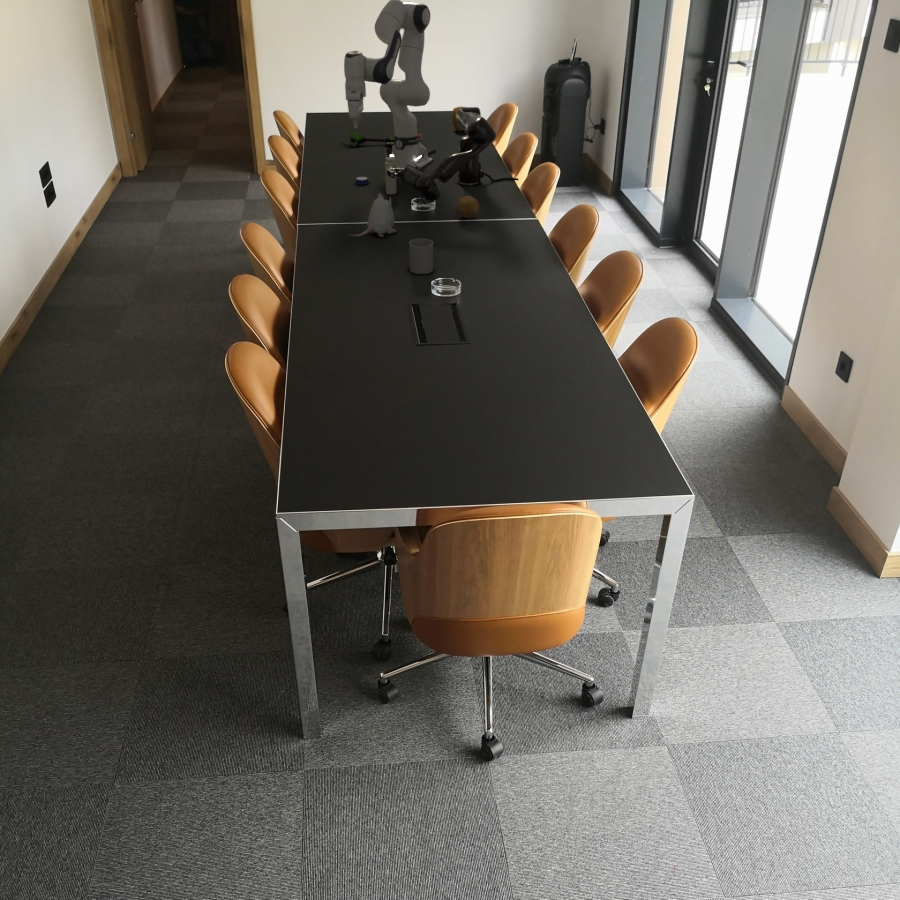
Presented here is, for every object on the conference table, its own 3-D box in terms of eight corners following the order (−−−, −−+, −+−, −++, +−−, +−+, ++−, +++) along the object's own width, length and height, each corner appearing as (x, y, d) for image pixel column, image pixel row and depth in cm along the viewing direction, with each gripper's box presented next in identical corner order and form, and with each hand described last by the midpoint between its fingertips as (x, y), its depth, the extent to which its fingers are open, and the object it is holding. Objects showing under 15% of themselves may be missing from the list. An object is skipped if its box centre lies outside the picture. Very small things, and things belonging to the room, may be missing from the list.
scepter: (396, 128, 463) (340, 126, 461) (396, 143, 456) (339, 141, 454) (396, 138, 468) (340, 135, 466) (396, 153, 461) (339, 151, 459)
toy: (401, 232, 342) (400, 194, 334) (357, 247, 328) (354, 207, 320) (386, 227, 348) (384, 189, 339) (341, 241, 333) (338, 202, 325)
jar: (385, 191, 390) (384, 156, 382) (396, 191, 390) (395, 156, 382) (386, 194, 386) (385, 159, 378) (397, 194, 387) (396, 159, 378)
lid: (362, 185, 398) (362, 180, 397) (353, 183, 401) (353, 178, 400) (370, 183, 401) (370, 178, 400) (361, 180, 404) (361, 176, 403)
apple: (471, 132, 486) (471, 108, 479) (451, 132, 486) (451, 108, 479) (470, 128, 495) (471, 104, 488) (452, 128, 495) (452, 104, 488)
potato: (477, 211, 365) (478, 192, 361) (481, 222, 353) (481, 202, 349) (454, 211, 364) (454, 192, 360) (457, 222, 352) (457, 203, 348)
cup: (409, 265, 311) (408, 238, 306) (432, 265, 312) (431, 238, 307) (410, 274, 304) (409, 246, 299) (433, 273, 305) (433, 246, 299)
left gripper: (351, 87, 387) (353, 120, 394) (345, 96, 369) (347, 130, 377) (365, 87, 386) (367, 120, 394) (359, 96, 369) (361, 130, 377)
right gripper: (397, 188, 359) (383, 178, 371) (428, 184, 364) (414, 174, 376) (396, 170, 355) (382, 160, 367) (428, 166, 360) (413, 156, 372)
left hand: (357, 125), depth 385 cm, fingers open, 8 cm apart
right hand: (398, 167), depth 372 cm, fingers open, 8 cm apart
